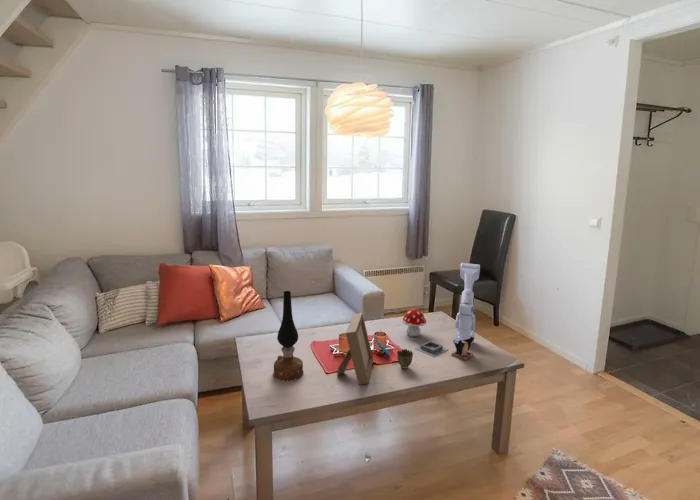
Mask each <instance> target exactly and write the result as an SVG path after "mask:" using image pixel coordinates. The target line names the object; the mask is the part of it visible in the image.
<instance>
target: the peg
mask: <svg viewBox="0 0 700 500" xmlns="http://www.w3.org/2000/svg"><path fill="white" fill-rule="evenodd" d="M462 343H465V345H464V347H463V350H462V354H461V355H459V354H458V355H459V356H462V357H464V358H465V357H467V352H468V351H469V350H468V343H467V342H465V341H462ZM467 350H468V351H467Z"/></svg>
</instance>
